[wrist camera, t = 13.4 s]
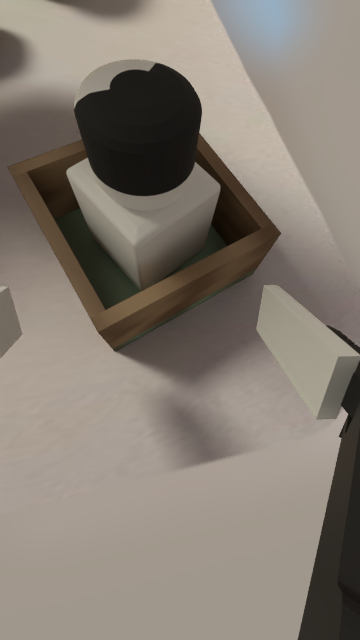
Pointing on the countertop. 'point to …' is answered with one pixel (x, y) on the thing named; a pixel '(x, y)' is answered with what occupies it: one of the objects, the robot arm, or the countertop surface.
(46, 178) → the walnut drop box
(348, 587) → the robot arm
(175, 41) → the countertop surface
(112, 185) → the medicine bottle
